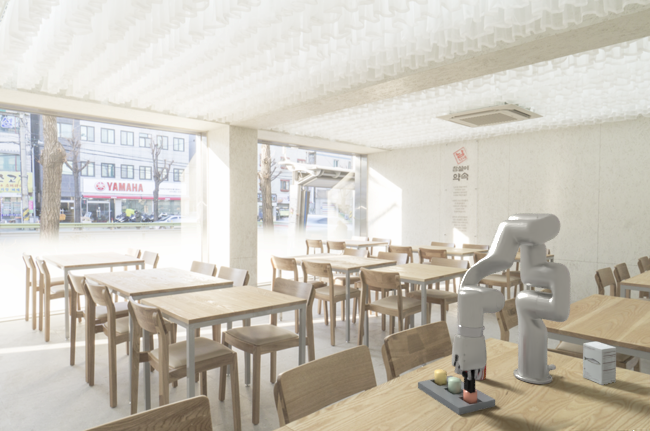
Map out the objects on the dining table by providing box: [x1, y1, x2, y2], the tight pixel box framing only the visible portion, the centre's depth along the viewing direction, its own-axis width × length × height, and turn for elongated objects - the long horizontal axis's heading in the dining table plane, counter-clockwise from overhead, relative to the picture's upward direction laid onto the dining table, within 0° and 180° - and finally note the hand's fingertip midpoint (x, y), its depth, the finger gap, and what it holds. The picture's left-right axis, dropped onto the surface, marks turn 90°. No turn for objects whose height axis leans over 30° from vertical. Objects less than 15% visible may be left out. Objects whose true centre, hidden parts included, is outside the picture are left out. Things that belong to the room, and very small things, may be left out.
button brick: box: [463, 389, 478, 404], centre depth 126 cm, size 4×4×4 cm
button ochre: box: [433, 368, 448, 386], centre depth 139 cm, size 4×4×4 cm
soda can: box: [475, 365, 487, 381], centre depth 149 cm, size 7×7×12 cm
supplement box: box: [582, 341, 617, 386], centre depth 147 cm, size 7×7×13 cm
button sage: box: [448, 376, 462, 394], centre depth 132 cm, size 4×4×4 cm
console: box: [417, 375, 496, 416], centre depth 132 cm, size 14×20×3 cm
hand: (469, 390), depth 126 cm, fingers closed
